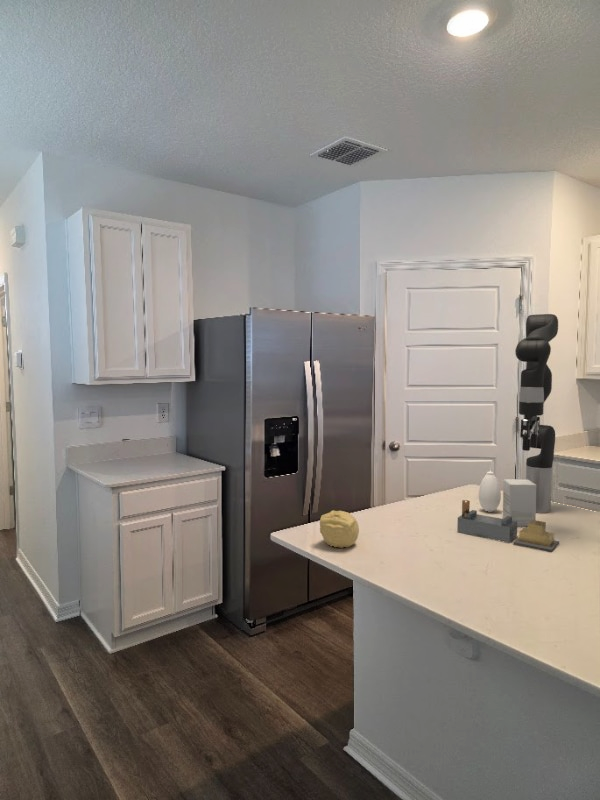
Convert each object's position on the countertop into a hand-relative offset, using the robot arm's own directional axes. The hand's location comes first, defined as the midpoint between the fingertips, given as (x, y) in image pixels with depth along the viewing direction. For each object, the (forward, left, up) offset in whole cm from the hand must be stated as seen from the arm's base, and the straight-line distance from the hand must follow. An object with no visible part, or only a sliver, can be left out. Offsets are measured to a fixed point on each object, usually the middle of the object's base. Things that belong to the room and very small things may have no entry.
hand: (529, 448), depth 177 cm
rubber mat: (+12, +6, -28) cm, 31 cm away
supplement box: (-8, -5, -28) cm, 30 cm away
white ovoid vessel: (-16, -18, -28) cm, 37 cm away
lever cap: (+12, +6, -27) cm, 30 cm away
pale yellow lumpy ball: (+51, -42, -28) cm, 72 cm away
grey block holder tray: (+12, -9, -28) cm, 32 cm away
